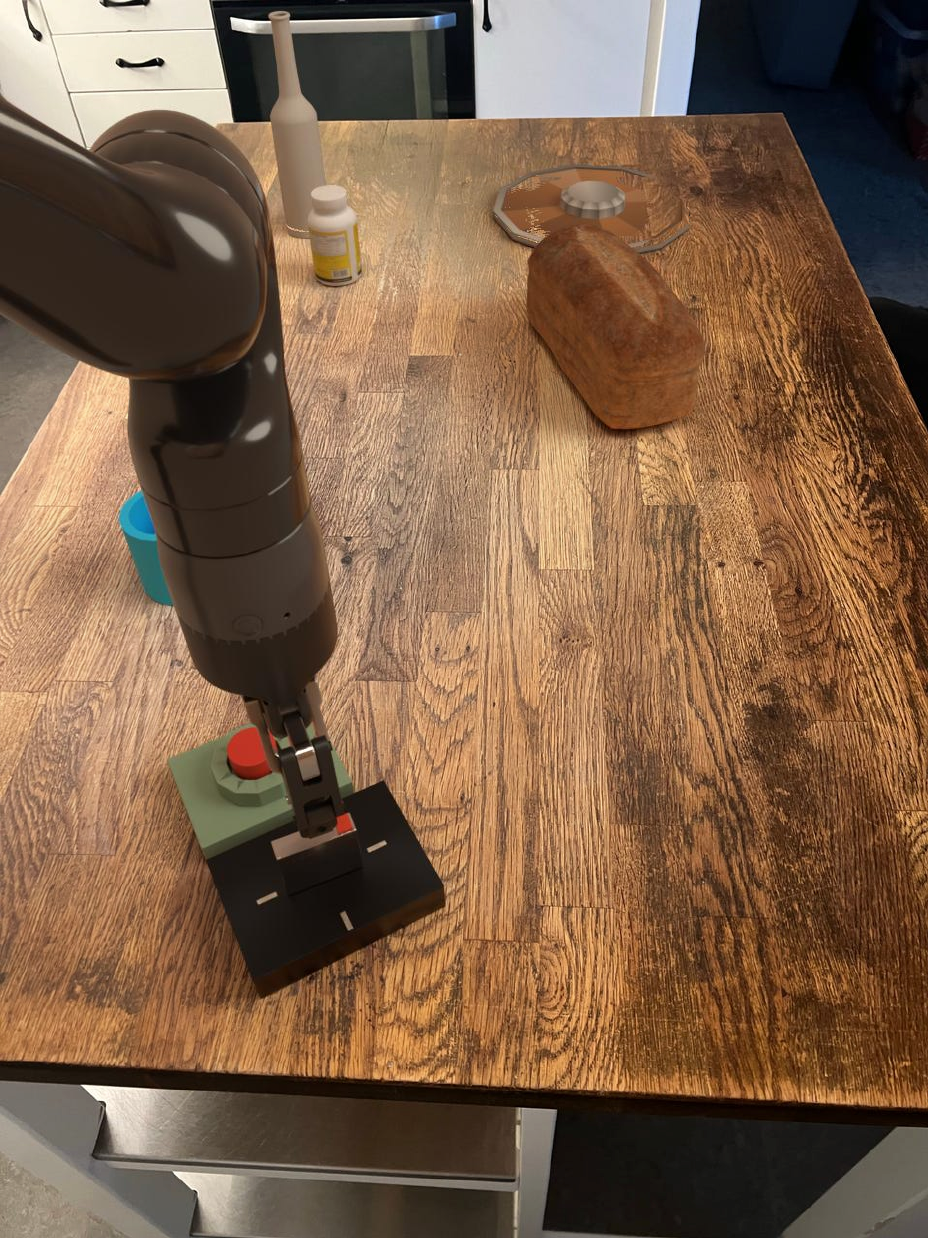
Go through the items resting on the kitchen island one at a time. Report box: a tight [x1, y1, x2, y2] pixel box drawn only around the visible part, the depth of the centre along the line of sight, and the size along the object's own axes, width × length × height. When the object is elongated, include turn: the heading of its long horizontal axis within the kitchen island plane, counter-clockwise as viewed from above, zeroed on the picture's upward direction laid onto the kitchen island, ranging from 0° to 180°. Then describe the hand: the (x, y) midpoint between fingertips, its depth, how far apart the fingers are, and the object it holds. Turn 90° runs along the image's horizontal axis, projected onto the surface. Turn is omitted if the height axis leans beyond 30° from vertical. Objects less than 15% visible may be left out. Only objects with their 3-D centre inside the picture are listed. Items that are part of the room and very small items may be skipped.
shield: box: [492, 163, 691, 255], centre depth 144 cm, size 30×3×30 cm
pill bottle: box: [307, 184, 363, 287], centre depth 129 cm, size 6×6×12 cm
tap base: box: [205, 779, 447, 1000], centre depth 68 cm, size 14×10×3 cm
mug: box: [118, 490, 174, 607], centre depth 89 cm, size 12×8×8 cm
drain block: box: [166, 722, 355, 861], centre depth 75 cm, size 12×9×4 cm
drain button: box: [227, 727, 278, 779], centre depth 73 cm, size 4×4×2 cm
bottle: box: [267, 10, 327, 239], centre depth 133 cm, size 7×7×28 cm
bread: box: [525, 224, 706, 430], centre depth 111 cm, size 12×31×14 cm, turn 17°
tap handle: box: [271, 813, 363, 895], centre depth 65 cm, size 6×2×5 cm, turn 113°
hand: (297, 771), depth 58 cm, fingers open, 8 cm apart
